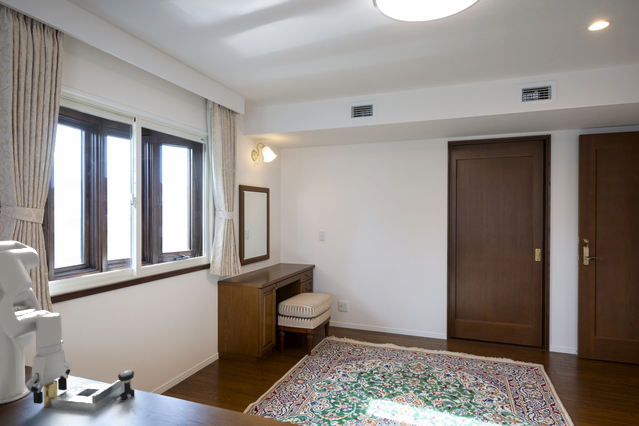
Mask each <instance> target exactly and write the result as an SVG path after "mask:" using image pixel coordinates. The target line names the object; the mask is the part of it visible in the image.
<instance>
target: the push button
mask: <svg viewBox="0 0 639 426" xmlns="http://www.w3.org/2000/svg"><path fill="white" fill-rule="evenodd" d="M134 377H135V371H133V370H132V369H129V368H128V369H124V370H122V371H120V373H119V374H118V375H117V378H118V380H120V381H121V393H120V394H119V397H117V398H116V400H117V401H116V403H120V402H122V403H124V402H126V401H127V400H131V398H134V397H135V396H136V395H135V394H136V393H135V389H134V388H133V385H132V379H133V378H134Z"/></svg>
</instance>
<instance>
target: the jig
mask: <svg viewBox="0 0 639 426" xmlns="http://www.w3.org/2000/svg"><path fill="white" fill-rule="evenodd" d="M120 393H121V381H120V380H119V379H117V380H116V381H114V382H112V383H111V384H104V383H103V384H102V383H101V384H100V383H90V382H81V383H79V384H77V385H74V386H73V387H71V388H69V389H68V390H65V391H64V392H62V393H60V394H57V396H56V397H55V398H53V399H52V407H51V408H52V409H53V408H54V409H63V410H73V411H80V412H82V411H83V412H92V413H97V412H98V411H99V410H101V409H103V408H104V407H106V405H108V404H110V403H111V402H113V401H114V400H115V398H116V399H118V398H119V394H120ZM112 400H113V401H112Z"/></svg>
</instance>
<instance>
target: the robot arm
mask: <svg viewBox="0 0 639 426" xmlns="http://www.w3.org/2000/svg"><path fill="white" fill-rule="evenodd" d="M39 265H40V255H39V253H38V252H37V251H36V250H35V249H34V248H33V247H30V246H29V245H27V244H24V243H23V242H19V241H17V240H0V404H5V403H10V402H14V401H16V400H19V399H21V398H24V397H25V396H27V395H28V394H29V393H30V392H31V393H32V394H33V395H32V396H33V397H32V398H33V399H32V400H33V404H42V403H44V391H43V389H44V388H43V386H44V384H47V383H49V382H51V381H53V380H57V391H58V390H59V391H67V389H68V384H67V383H68V381H67V379H68V378H69V374H70V372H71V370H72V369H71V368H72V365H73V364H72V363H71V362H66V355H65V352H64V351H65V350H64V348H63V344H64V341H63V338H62V337H63V335H62V334H63V331H62V315H61V314H60V313H59V312H50V311H49V310H45V309H43V310H42V307H41V305H40V302H39V300H38V298H37V296H36V293H35V291H34V289H33V286H34V285H33V280H32V278H31V276H30V275H29V272H28V270H33V269H36V268H37V267H38V266H39ZM14 309H15V310H14ZM32 334H35V352H36V355H34V357H33V360H32V366H31V378H30V379H28V380H27V382H26V372H25V371H26V368H25V347H24V343H22V341H21V340H20V339H19V338H23V337H26V336H28V335H32Z"/></svg>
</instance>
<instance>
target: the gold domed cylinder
mask: <svg viewBox="0 0 639 426" xmlns="http://www.w3.org/2000/svg"><path fill="white" fill-rule="evenodd" d="M42 389H43V407H44V408H45V409H48V408H49V409H50V408H52V399H53V398H55V397H56V396H58V380H57V379H55V380H53V381H51V382H49V383H47V384H44V386H43V388H42Z"/></svg>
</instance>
